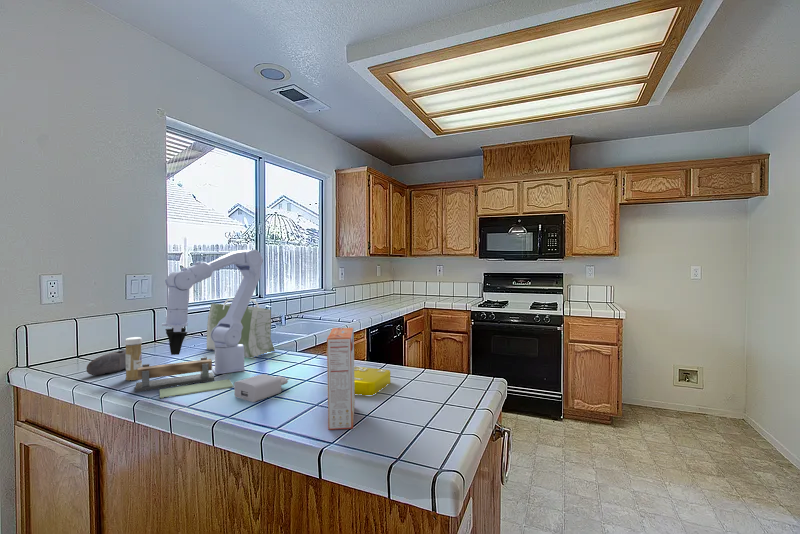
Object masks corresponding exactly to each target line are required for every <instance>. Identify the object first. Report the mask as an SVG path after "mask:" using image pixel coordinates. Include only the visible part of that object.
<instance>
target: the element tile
mask: <svg viewBox="0 0 800 534" xmlns="http://www.w3.org/2000/svg"><path fill="white" fill-rule="evenodd" d="M389 383H390V384H391V371H390V369H385V368H384V369H382V368H374V367H364V366H359V365H357V366H355V365H354V389H355V394H362V395H373V394H375V393H377V392H378V391H379V390H381V389H382V388H384V387H385V386H386V385H387V384H389ZM384 389H385V388H384Z"/></svg>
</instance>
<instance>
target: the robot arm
mask: <svg viewBox="0 0 800 534" xmlns="http://www.w3.org/2000/svg"><path fill="white" fill-rule="evenodd" d="M263 263H264V259H263V256H262V254H261V253H260V251H258V250H257V249H244V250H242V249H238V250H236V251H232V252H231V251H230V252H229V253H227V254H225V255H222V256H220V257H218V258H215V259H214V260H212V261H210V262H206V261H199V260H197V261H196V262H194V265H190V266H188V267H187V266H186V267H185V266H184V267H182V268H180V271H172V272H171V273H170V272H169V274H168V275H167V278H166V279H165V280H164V283H165V285H166V286H167V288H168V290H167V291H168V293H167V307H166V308H167V309H166V318H165V319H166V321H165V322H162V323H161V326H162V327H163V326H164V327H167V328H165V334H166V335H167V338H168V343H169V350H170V351H169V352H170V355H171V356H176V355H180V353H181V349H182V345H183V343H184V340H185V337H186V336H187V335H188V332H187V331H186V327H188V325H189V323H188V315H189V313H188V311H189V300H190V299H189V298H190V297H189V295H190V289H191V288H192V287H193V285H194V284H198V283H200V282H202V281H204V280H206V279H209V278H211V277H212V276H213V272H216V271H219V270H221V269H223V268H226V267H229V266H231V265H234V266H235V267H236V268H237V270H238V271H239V272H240V273H241V275H242V277H243V278H242V280H241V282H240V284H239V285H238V289H237V290H236V293H235V294H234V297H233V298H232V299H233V300H231V303H230V304H231V305H230V308H229V310H228V312H227V314H226V316H225V317H224V318H223V319H221V320H220V321H219V322H218V324H217V326H216V327H214V328H213V330H212V331H211V339H212V341H214V345H215V350H214V367H212V370H211V371H213V373H214V375H220V374H221V375H222V374H228V373H229V374H230V373H236V372H243V371H246V369H245V357H244V346H243V344H238V343H239V341H240V339H241V332H242V329H243V326H242V323H241V320H242V317H243V315H244V313H245V311H246V308H247V306H249V304H250V302H251V301H250V299H252V297H253V295H254V293H255V291H256V288H257V285H258V283H259V282H260V279H261V271H262V270H261V269H262V265H263Z"/></svg>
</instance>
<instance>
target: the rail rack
mask: <svg viewBox="0 0 800 534" xmlns="http://www.w3.org/2000/svg"><path fill="white" fill-rule="evenodd" d="M206 359H208V357H207V356H203V357H200V360H206ZM148 366H150V363H145V364H143V363H142V367H148ZM209 371H210V370H209V364H208V363H205V364H202V371H201V372H200V373H198V374H197V373H196V374H190V375H182V376H176V377H168V378H160V379H154V380H153V379H151V380H150V378H149V371H142V379H141V381H138V382H136V383H135V388H134V389H135V393H137V392H138V393H139V392H145V391H146V390H147V391H151V389H154V390H159V389H158V388H160V389H166V388H165V387H167V388H172V387H171V386H174V387H178V386H177V385H181V386H187V385H193V383H194V384H200V382H201V383H207V382H214V381H215V376H214V374H213V372H209ZM186 384H187V385H186ZM147 391H146V392H147Z"/></svg>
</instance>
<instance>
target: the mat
mask: <svg viewBox="0 0 800 534" xmlns="http://www.w3.org/2000/svg"><path fill="white" fill-rule="evenodd" d="M229 388H234V383H232V381H231V380H230V379H221V380H214V381H208V382H201V383H194V384H187V385H181V386H174V387H167V388H160V389H159V399H160V398H161V399H165V398H164V397H168V398H170V397H169V396H174V397H176V396H175V395H180V396H184V395H185V394H186V395H191V393H193V394H199V393H204V392H210V391H216V390H222V389H223V390H224V389H229ZM198 392H199V393H198ZM186 395H185V396H186Z"/></svg>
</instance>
